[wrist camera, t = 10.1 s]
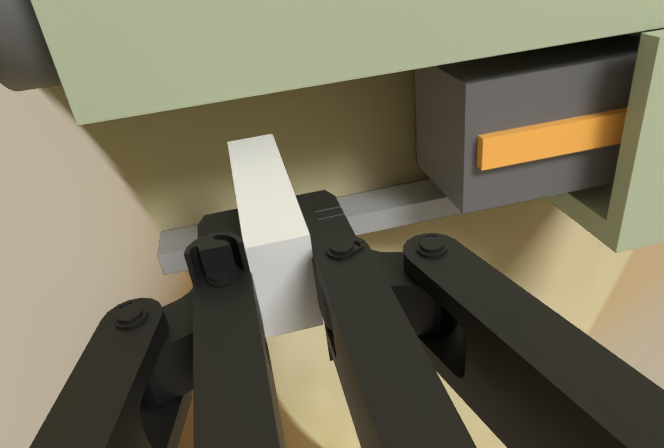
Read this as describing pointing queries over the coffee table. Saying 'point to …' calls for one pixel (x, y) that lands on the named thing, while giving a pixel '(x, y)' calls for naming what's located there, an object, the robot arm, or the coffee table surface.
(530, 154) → the orange striped grey block
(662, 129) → the green wheeled box
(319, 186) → the coffee table surface
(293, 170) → the coffee table surface
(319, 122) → the coffee table surface
